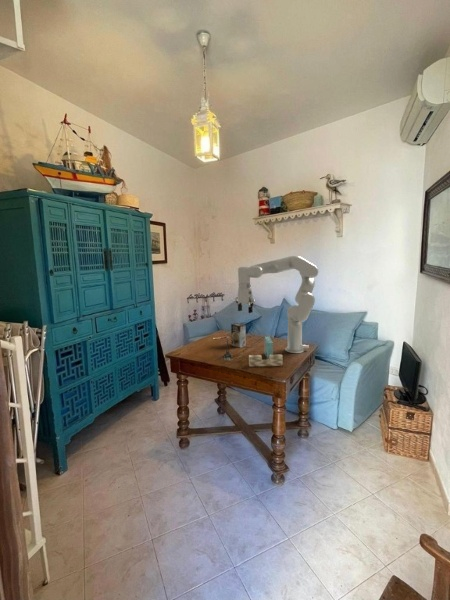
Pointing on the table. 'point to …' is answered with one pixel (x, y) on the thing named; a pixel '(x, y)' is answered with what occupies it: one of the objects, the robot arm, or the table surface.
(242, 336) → the coffee box
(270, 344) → the cross plate
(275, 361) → the slotted board
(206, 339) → the table surface
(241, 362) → the table surface
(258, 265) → the robot arm
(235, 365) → the table surface
